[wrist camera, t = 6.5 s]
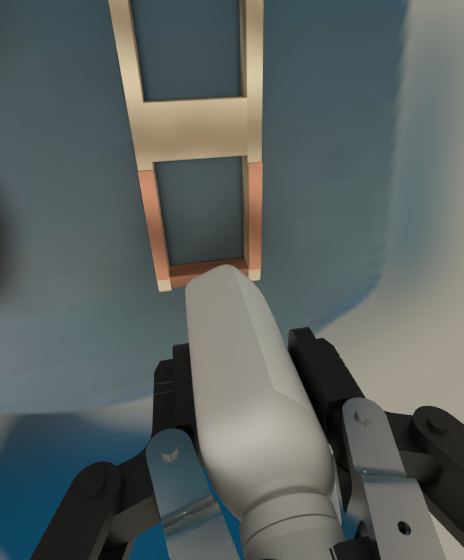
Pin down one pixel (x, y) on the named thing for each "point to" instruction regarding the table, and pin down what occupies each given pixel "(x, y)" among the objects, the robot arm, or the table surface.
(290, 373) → the eye dropper bottle
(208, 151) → the rail
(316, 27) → the table surface
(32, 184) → the table surface
